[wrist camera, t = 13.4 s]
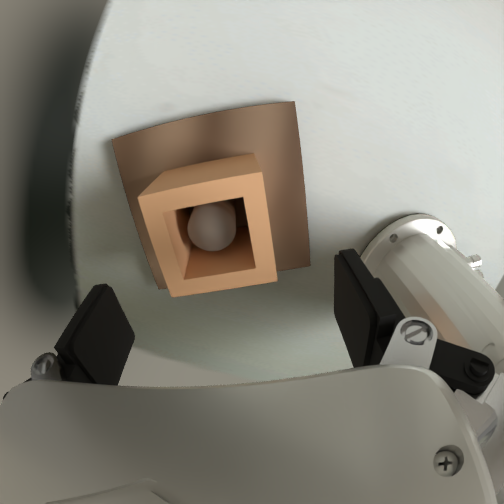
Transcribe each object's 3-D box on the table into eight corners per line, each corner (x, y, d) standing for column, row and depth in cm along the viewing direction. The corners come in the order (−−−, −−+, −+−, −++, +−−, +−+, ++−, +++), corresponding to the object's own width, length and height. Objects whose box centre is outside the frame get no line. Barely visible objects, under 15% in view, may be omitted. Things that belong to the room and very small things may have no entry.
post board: (291, 101, 18) (311, 99, 13) (307, 258, 24) (324, 299, 19) (117, 137, 18) (82, 149, 13) (161, 281, 24) (147, 324, 19)
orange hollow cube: (253, 153, 19) (262, 171, 13) (266, 236, 22) (277, 281, 16) (163, 171, 19) (137, 197, 13) (185, 250, 22) (171, 297, 16)
